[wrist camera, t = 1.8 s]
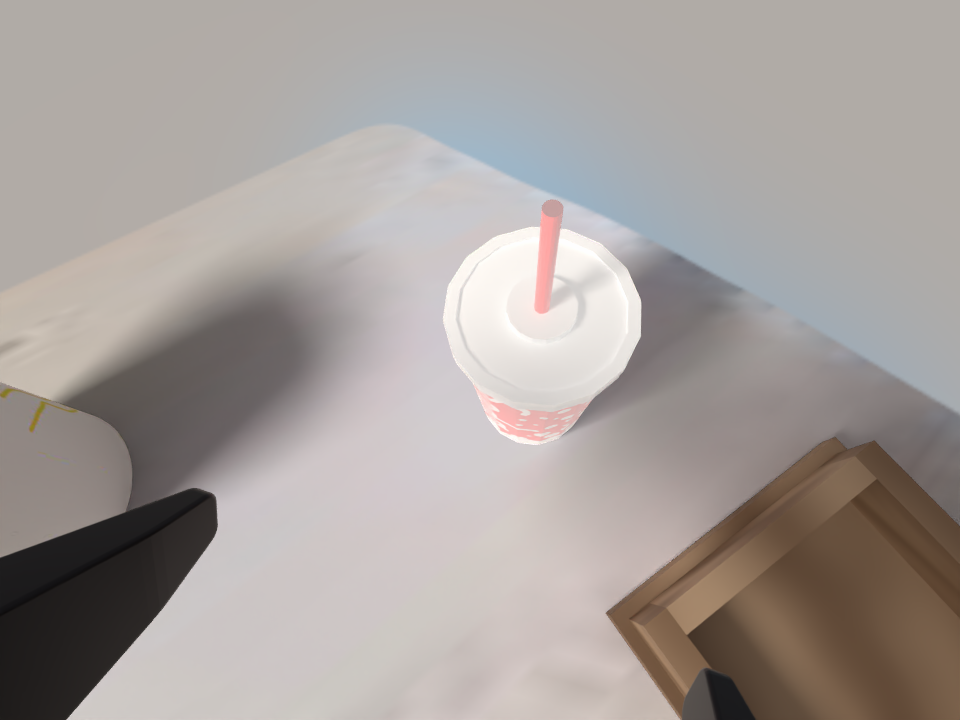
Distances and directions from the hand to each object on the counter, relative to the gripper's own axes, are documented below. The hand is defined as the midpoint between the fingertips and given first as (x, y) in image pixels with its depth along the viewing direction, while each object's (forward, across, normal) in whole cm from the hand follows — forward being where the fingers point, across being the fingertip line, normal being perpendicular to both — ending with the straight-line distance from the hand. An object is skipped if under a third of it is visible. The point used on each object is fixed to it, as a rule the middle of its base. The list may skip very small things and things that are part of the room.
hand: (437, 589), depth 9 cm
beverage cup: (+16, 0, +4) cm, 16 cm away
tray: (+10, -14, +9) cm, 19 cm away
